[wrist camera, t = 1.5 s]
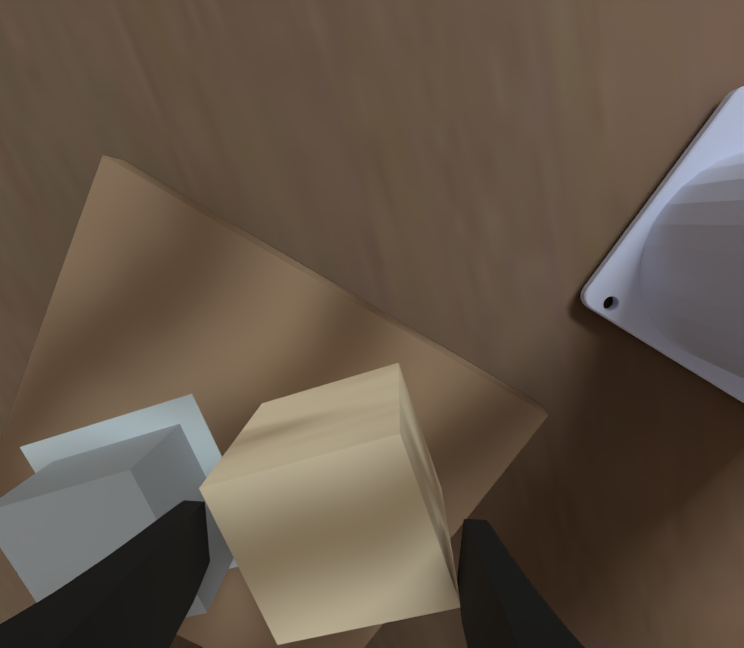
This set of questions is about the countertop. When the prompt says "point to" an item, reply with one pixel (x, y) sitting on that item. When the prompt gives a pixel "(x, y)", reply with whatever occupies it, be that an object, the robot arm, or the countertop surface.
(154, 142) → the countertop surface
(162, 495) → the grey base block
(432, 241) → the countertop surface
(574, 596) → the countertop surface
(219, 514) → the maple cube
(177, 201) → the board
